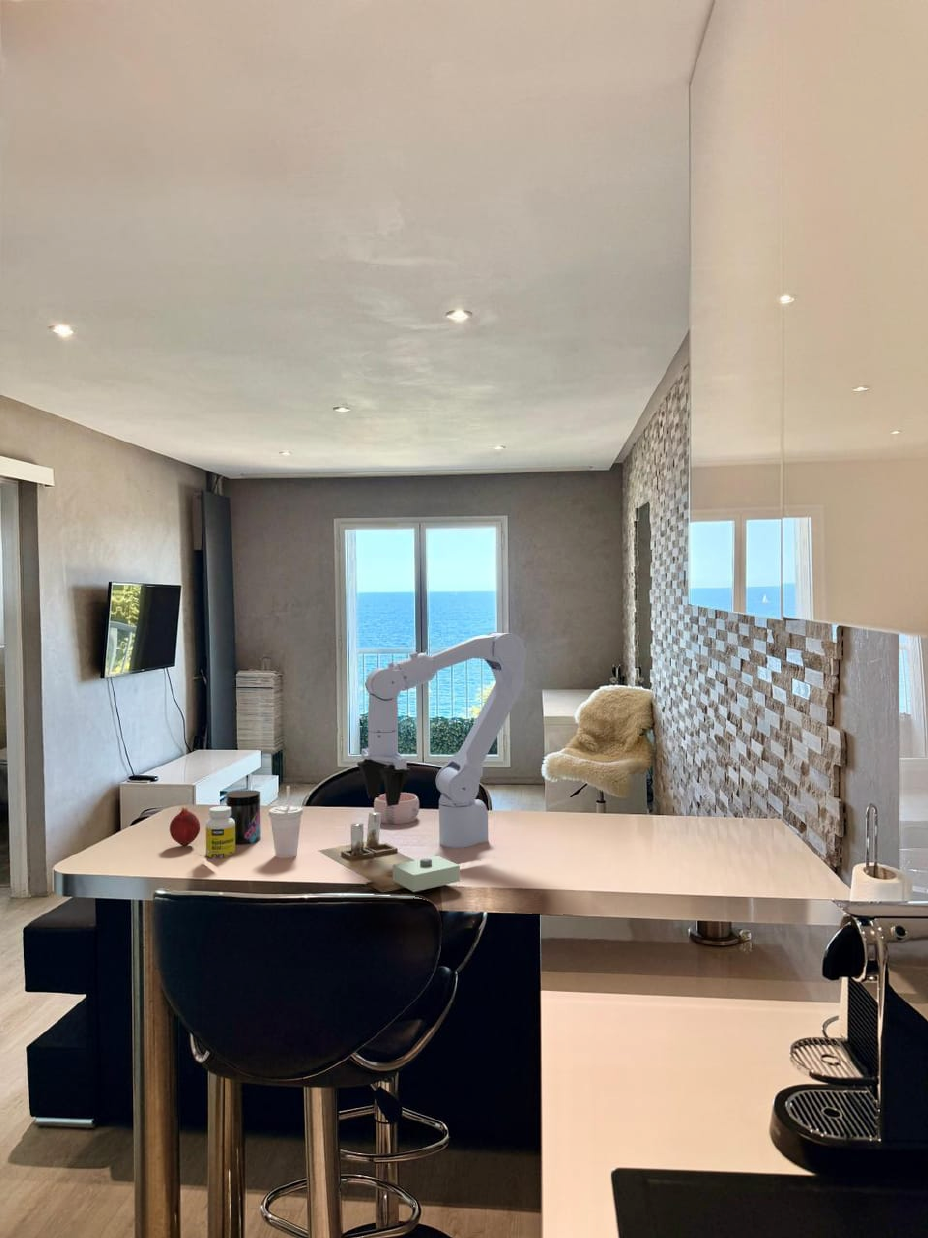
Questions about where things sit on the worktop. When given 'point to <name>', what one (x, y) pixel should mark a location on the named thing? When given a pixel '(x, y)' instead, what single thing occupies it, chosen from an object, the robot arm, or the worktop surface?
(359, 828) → the pin
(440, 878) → the cover
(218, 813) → the supplement bottle
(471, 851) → the worktop surface
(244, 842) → the supplement container
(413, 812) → the pink bowl
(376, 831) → the pin
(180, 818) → the onion
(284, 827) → the smoothie
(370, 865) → the board
